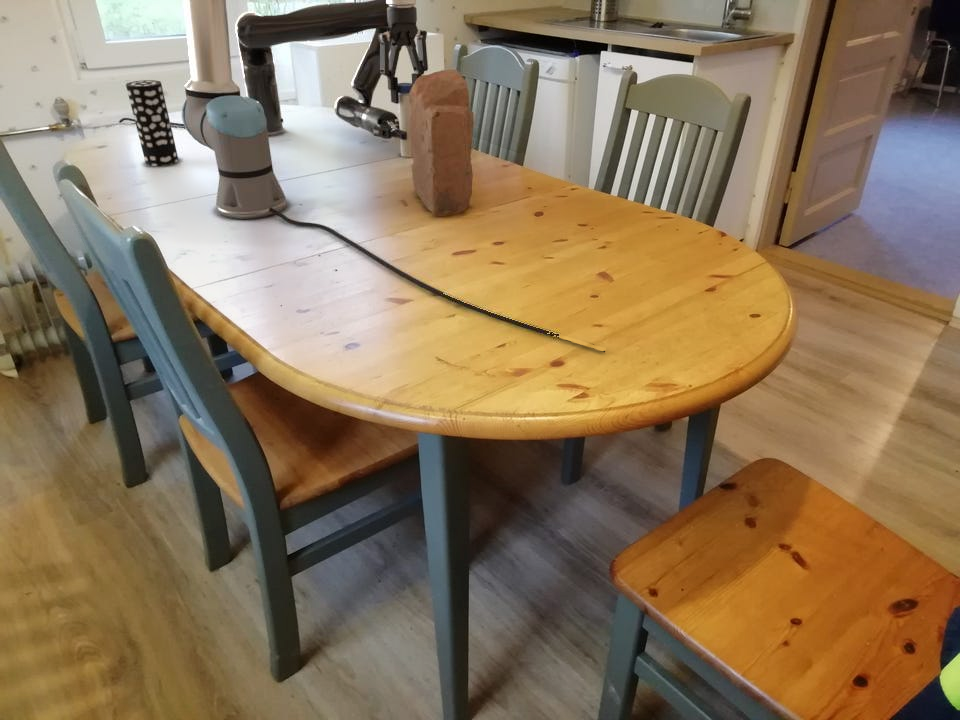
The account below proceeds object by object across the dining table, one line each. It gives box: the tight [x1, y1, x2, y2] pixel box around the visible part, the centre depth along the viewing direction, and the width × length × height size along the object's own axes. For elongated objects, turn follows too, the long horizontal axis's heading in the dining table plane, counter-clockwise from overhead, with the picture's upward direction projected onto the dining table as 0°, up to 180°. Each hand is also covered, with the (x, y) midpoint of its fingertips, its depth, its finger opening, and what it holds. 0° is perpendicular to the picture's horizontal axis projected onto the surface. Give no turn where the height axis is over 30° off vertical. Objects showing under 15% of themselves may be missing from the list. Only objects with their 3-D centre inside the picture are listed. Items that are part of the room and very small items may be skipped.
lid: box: [398, 82, 413, 94], centre depth 185 cm, size 5×5×2 cm
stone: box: [409, 69, 475, 217], centre depth 155 cm, size 22×11×28 cm, turn 18°
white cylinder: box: [397, 93, 412, 158], centre depth 190 cm, size 4×4×18 cm
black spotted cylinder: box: [125, 79, 179, 167], centre depth 181 cm, size 8×8×20 cm
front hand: (405, 100), depth 187 cm, fingers open, 6 cm apart
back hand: (412, 134), depth 189 cm, fingers closed on white cylinder, 4 cm apart
